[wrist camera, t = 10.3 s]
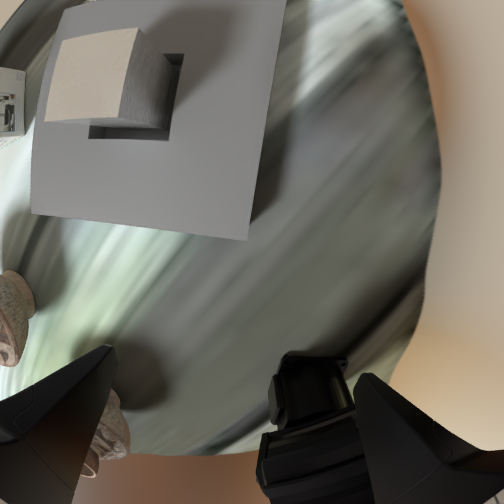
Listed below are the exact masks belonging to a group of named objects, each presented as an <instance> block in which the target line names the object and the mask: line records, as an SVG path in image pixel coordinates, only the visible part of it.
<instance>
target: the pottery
mask: <svg viewBox="0 0 504 504" xmlns="http://www.w3.org/2000/svg"><path fill="white" fill-rule="evenodd" d="M35 310H36V309H35V301H34V297H33V294H32V291H31V289H30V287H29V286H28V284H27V282H26V281H25V280H24V279H23V278H22V277H21V276H20V275H19V274H18V273H16V272H15V271H13V270H7V271H5V272H4V273H3V274H2V275H0V365H2V366H7V367H14V366H16V365H17V364H18V363H19V360H20V358H21V356H22V353H23V351H24V348H25V344H26V340H27V336H28V328H29V322H28V319H30V318H32V317H33V315H34V314H35ZM119 407H120V400H119V397H118V396H117V394H116V392H115V391H114V390H113V389H112V388H111V391H110V394H109V398H108V401H107V404H106V407H105V409H104V412H103V414H102V417H101V419H100V422H99V424H98V427H97V429H96V432H95V435H94V437H93V440H92V443H91V445H90V448H89V451H88V454H87V456H86V459H85V462H84V465H83V468H82V471H81V474H80V475H82V476H85V477H92V478H93V477H96V475H97V472H98V469H99V459H103V460H109V459H118V458H123V457H126V456H127V455H128V454H129V452H130V444H131V443H130V431H129V427H128V424H127V422H126V420H125V418H124V416H123V414H122V412H121V410H120V408H119Z"/></svg>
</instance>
